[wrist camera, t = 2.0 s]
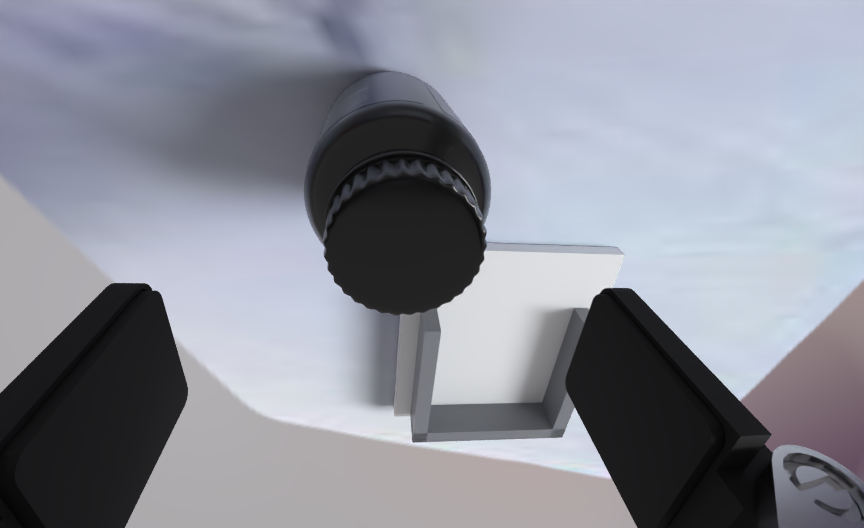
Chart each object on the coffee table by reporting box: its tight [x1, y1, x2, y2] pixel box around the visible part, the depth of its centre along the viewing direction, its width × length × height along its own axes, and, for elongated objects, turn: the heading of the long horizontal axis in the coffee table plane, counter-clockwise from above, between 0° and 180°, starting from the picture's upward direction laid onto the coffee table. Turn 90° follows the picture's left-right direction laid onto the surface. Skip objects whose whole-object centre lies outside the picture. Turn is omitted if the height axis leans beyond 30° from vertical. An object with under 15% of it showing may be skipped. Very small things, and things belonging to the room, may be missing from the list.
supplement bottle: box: [304, 72, 491, 315], centre depth 17 cm, size 7×7×12 cm
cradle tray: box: [394, 243, 625, 442], centre depth 28 cm, size 15×14×4 cm
